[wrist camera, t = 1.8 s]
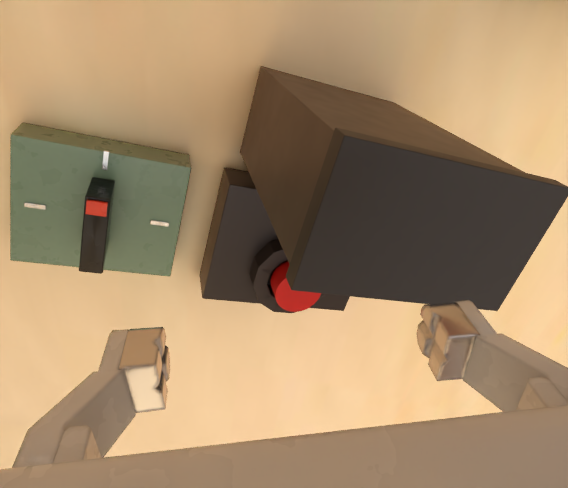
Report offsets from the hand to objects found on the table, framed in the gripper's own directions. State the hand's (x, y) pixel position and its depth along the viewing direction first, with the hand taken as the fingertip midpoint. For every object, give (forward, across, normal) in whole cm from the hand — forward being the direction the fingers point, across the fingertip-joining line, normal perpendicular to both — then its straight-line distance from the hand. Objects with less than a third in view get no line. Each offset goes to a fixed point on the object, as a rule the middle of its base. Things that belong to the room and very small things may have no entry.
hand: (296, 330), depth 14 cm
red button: (+20, -3, +13) cm, 24 cm away
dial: (+21, +12, +6) cm, 25 cm away
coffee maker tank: (+26, -6, +2) cm, 27 cm away
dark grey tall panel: (+26, -3, +12) cm, 28 cm away
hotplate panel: (+24, +12, +6) cm, 28 cm away
